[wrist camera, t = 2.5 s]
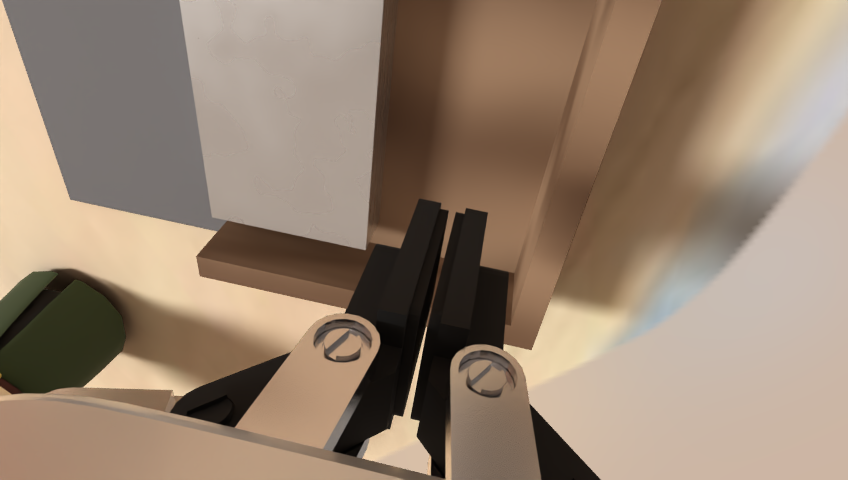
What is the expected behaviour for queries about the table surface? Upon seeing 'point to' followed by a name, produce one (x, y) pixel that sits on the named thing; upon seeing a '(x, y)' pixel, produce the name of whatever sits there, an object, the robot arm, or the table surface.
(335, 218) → the concrete block
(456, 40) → the walnut box
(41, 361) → the character mug
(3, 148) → the table surface
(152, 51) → the gray mat
